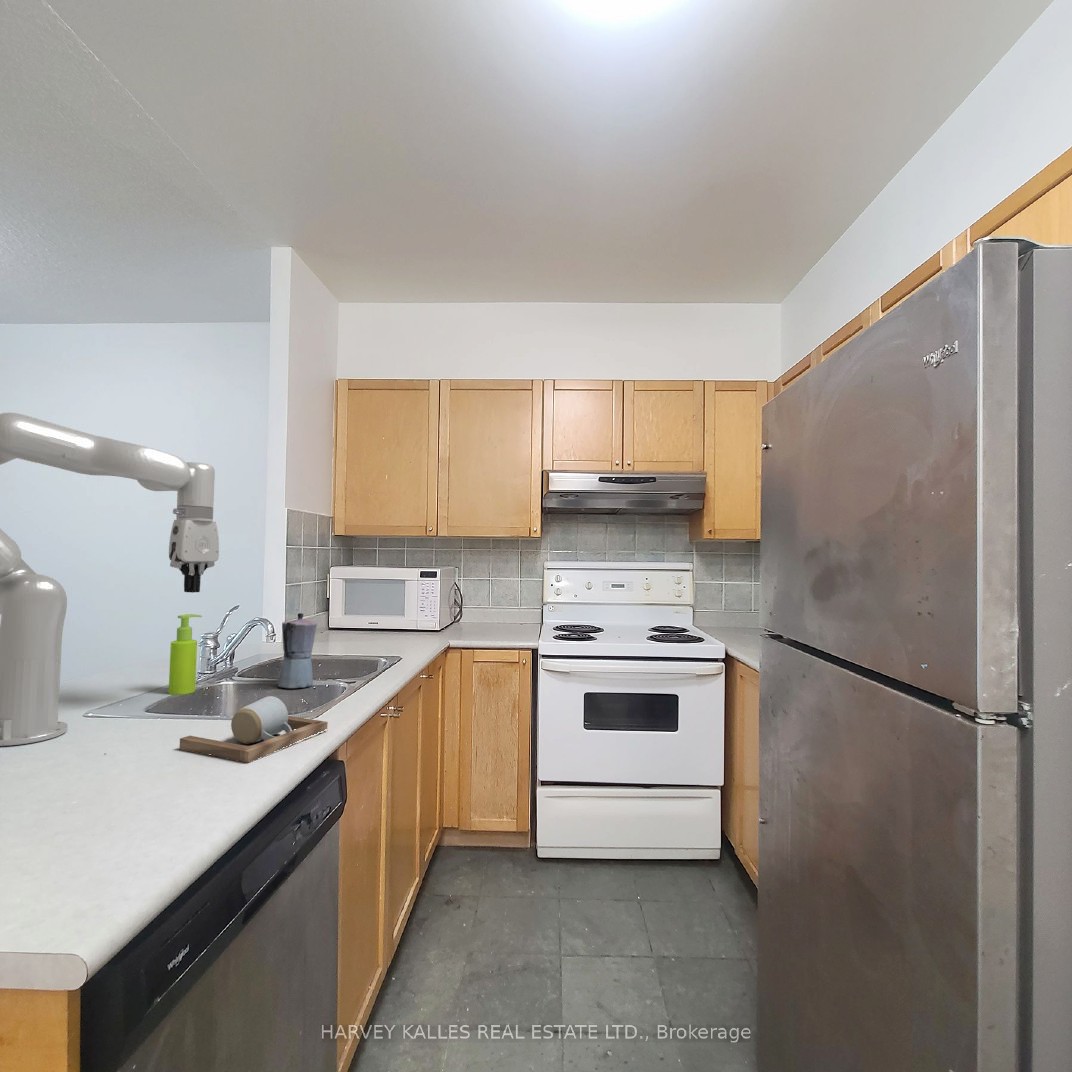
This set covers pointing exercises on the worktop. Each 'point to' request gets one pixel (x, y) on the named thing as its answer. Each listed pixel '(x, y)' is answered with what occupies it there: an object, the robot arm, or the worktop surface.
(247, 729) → the ceramic mug
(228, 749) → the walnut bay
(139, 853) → the worktop surface
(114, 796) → the worktop surface
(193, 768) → the worktop surface
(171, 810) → the worktop surface
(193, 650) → the soap dispenser
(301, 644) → the moka pot
